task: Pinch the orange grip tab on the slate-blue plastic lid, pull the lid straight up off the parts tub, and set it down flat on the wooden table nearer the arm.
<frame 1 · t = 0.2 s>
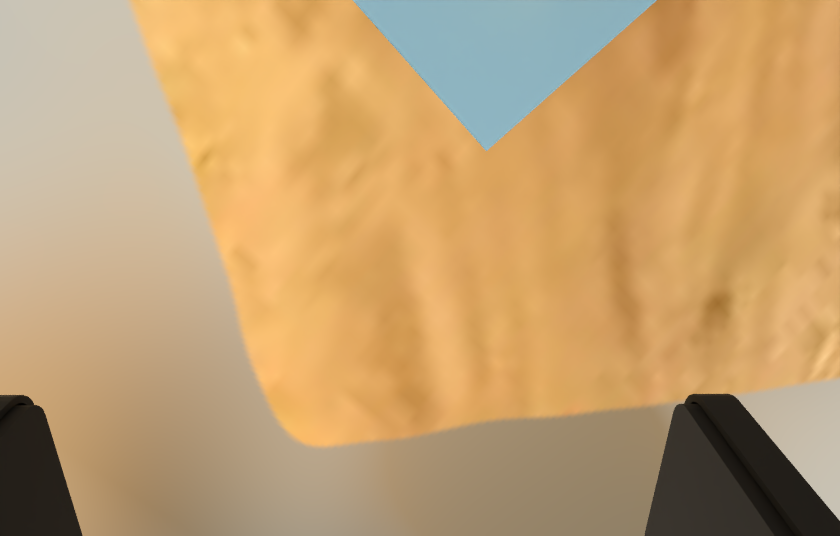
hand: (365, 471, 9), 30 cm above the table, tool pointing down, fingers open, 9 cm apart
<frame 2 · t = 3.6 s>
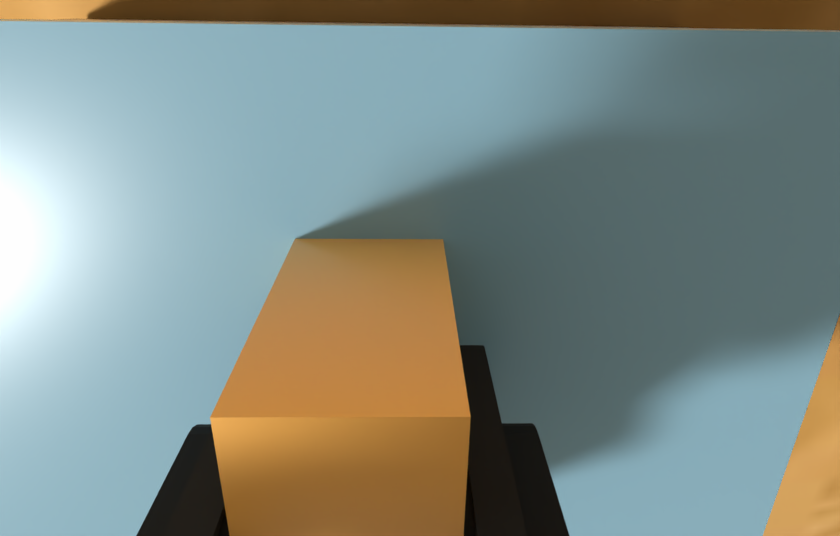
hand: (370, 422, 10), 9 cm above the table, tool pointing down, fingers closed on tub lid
parts tub: (386, 236, 18), on the table
tub lid: (375, 366, 11), point 7 cm above the table, touching gripper, parts tub
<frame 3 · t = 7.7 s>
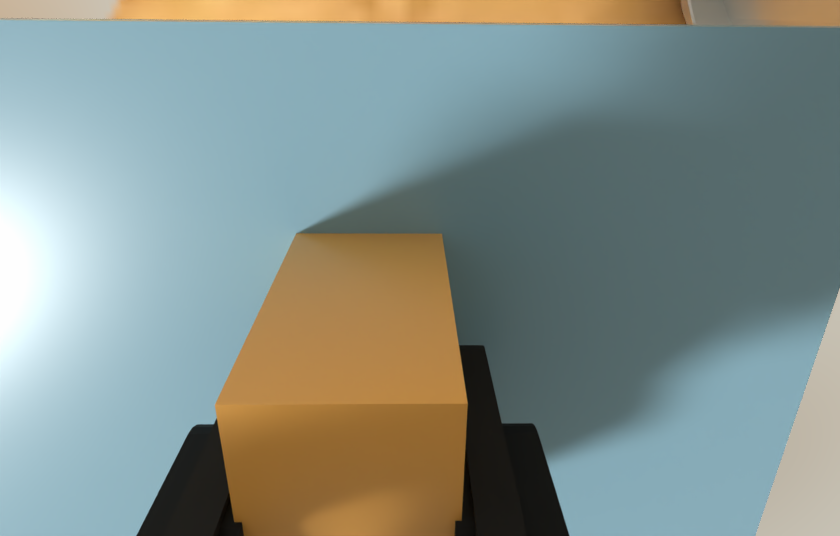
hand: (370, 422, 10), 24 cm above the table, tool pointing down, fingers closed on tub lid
tub lid: (375, 360, 12), point 22 cm above the table, touching gripper
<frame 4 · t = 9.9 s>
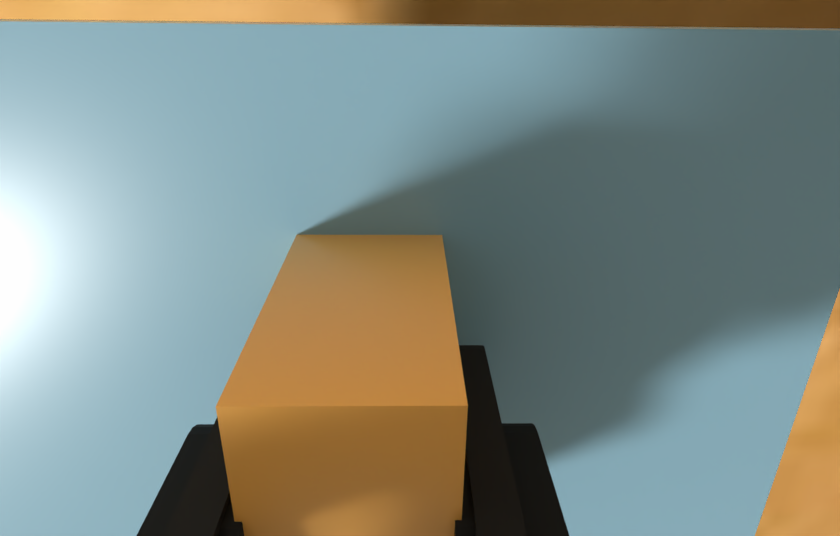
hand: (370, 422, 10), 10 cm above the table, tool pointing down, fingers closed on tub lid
tub lid: (375, 361, 12), point 8 cm above the table, touching gripper
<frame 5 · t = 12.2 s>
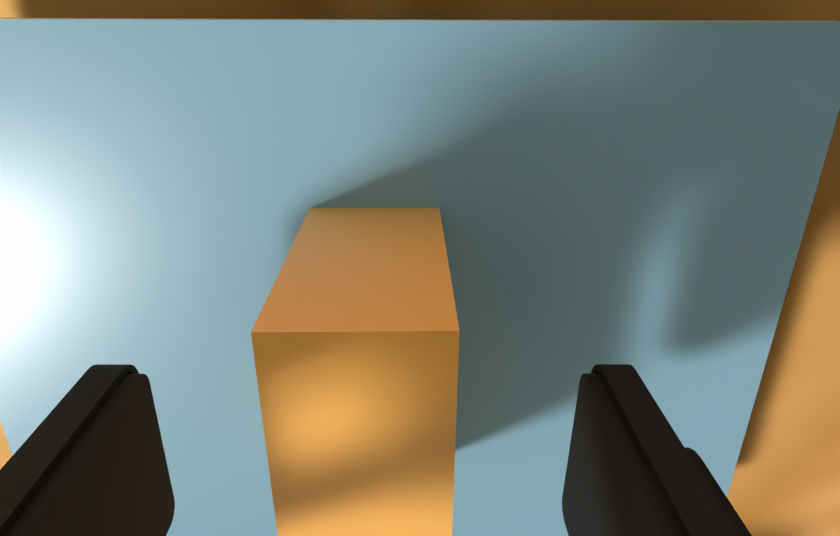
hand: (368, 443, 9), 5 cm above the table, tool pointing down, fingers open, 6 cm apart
tub lid: (380, 327, 13), point 1 cm above the table
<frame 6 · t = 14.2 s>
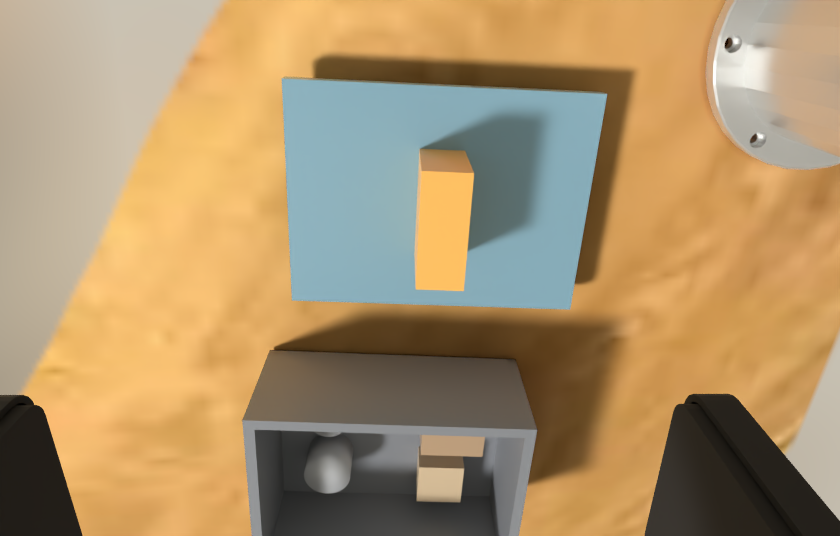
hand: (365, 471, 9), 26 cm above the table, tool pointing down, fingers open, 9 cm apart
parts tub: (390, 428, 41), on the table
tub lid: (438, 199, 33), point 1 cm above the table
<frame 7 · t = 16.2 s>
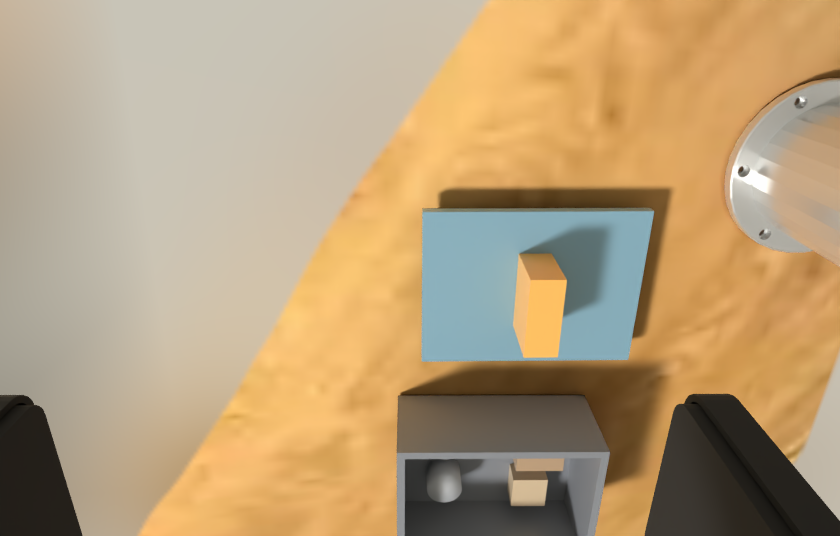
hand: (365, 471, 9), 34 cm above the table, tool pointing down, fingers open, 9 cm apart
parts tub: (487, 450, 53), on the table
tub lid: (529, 285, 45), point 1 cm above the table
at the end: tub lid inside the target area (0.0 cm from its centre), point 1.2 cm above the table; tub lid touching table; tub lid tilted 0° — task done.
